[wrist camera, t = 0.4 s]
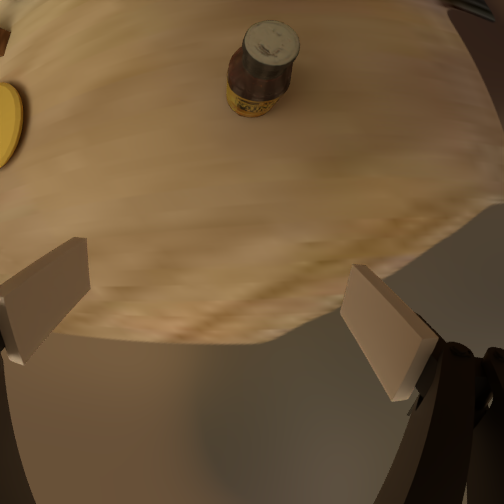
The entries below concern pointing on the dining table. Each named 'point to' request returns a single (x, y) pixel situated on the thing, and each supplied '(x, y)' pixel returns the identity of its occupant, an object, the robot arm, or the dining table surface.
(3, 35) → the brown tall block
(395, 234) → the dining table surface
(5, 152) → the yellow curved piece
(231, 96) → the sauce bottle
